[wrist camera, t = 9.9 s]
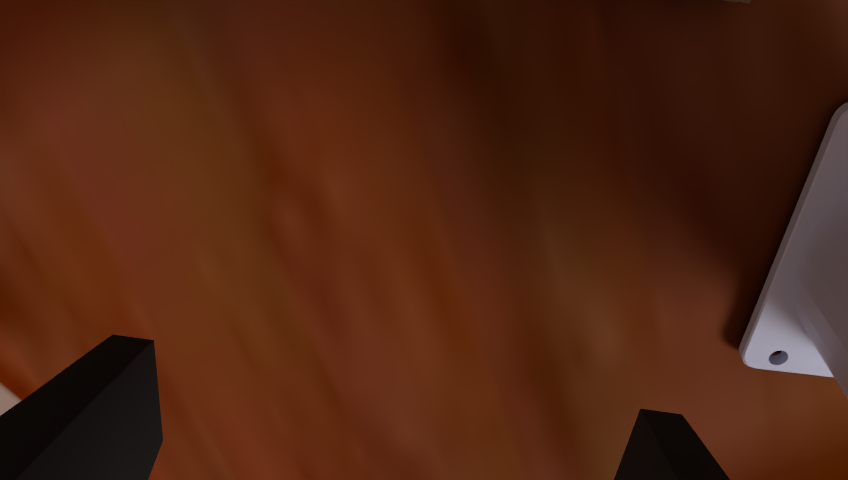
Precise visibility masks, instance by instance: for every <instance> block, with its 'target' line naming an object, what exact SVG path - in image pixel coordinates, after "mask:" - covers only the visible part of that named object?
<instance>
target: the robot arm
mask: <svg viewBox="0 0 848 480" xmlns="http://www.w3.org/2000/svg"><path fill="white" fill-rule="evenodd" d="M775 351H782V352H781V353H780V354H778V355H776V356H770V355H771V354H772V353H773V352H775ZM739 353H740V356H741V358H742V360H743V362H744V363H745V364H746V365H747V366H749V367H752V368H758V369H766V370H775V371H783V372H792V373H801V374H809V375H818V376H826V377H834V378H835V380H836V381H837V383H838V384H839V386H840V388H841V389H842V391H843V392H844V394H845V396H846V397H847V399H848V102H847V103H845V104H843V105H842V106H841V107H839V108H838V109H837V110H836V112H835V113H834V115H833V116H832V118H831V121H830V123H829V126H828V128H827V131H826V133H825V136H824V138H823V141H822V143H821V145H820V148H819V150H818V153H817V155H816V158H815V160H814V163H813V165H812V168H811V170H810V173H809V175H808V178H807V180H806V183H805V185H804V188H803V190H802V193H801V195H800V197H799V200H798V202H797V205H796V207H795V210H794V212H793V215H792V217H791V220H790V222H789V225H788V227H787V230H786V232H785V235H784V237H783V240H782V242H781V244H780V247H779V249H778V252H777V254H776V257H775V259H774V262H773V264H772V267H771V269H770V272H769V274H768V277H767V279H766V282H765V284H764V287H763V289H762V292H761V294H760V296H759V299H758V301H757V304H756V306H755V309H754V311H753V314H752V316H751V319H750V321H749V324H748V326H747V329H746V331H745V334H744V336H743V339H742V341H741V343H740V346H739ZM162 441H163V435H162V424H161V413H160V403H159V392H158V381H157V370H156V359H155V348H154V340H148V339H141V338H133V337H126V336H119V335H112V336H110V337H109V338H107V339H106V340H105V341H103V342H102V343H100V344H99V345H98V346H96V347H95V348H93V349H92V350H91V351H89V352H88V353H86V354H85V355H84V356H82V357H81V358H80V359H78V360H77V361H75V362H74V363H73V364H71V365H70V366H69V367H67V368H66V369H65V370H63V371H62V372H61V373H59V374H58V375H56V376H55V377H54V378H52V379H51V380H50V381H48V382H47V383H46V384H44V385H43V386H41V387H40V388H39V389H37V390H36V391H35V392H33V393H32V394H31V395H29V396H28V397H26V398H25V399H24V400H22V401H21V402H19V403H18V404H16V405H15V406H14V407H12V408H11V409H9V410H8V411H7V412H5V413H4V414H2V415H1V416H0V480H148V478H149V476H150V473H151V470H152V468H153V465H154V462H155V460H156V457H157V454H158V452H159V449H160V447H161V444H162ZM614 480H730V479H729V478H728V476H727V475H726V474H725V472H724V471H723V470H722V468H721V467H720V466H719V464H718V463H717V461H716V460H715V459H714V457H713V456H712V455H711V453H710V452H709V451H708V449H707V448H706V446H705V445H704V444H703V442H702V441H701V440H700V438H699V437H698V436H697V434H696V433H695V431H694V430H693V429H692V427H691V426H690V425H689V423H688V422H687V421H686V419H685V418H684V417H683V415H681V414H674V413H667V412H660V411H653V410H646V409H640V411H639V414H638V417H637V419H636V422H635V425H634V428H633V430H632V433H631V436H630V438H629V441H628V444H627V446H626V449H625V452H624V454H623V457H622V460H621V463H620V465H619V468H618V471H617V473H616V476H615V479H614Z"/></svg>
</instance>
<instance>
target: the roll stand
mask: <svg viewBox="0 0 848 480" xmlns="http://www.w3.org/2000/svg"><path fill="white" fill-rule="evenodd" d="M723 1H732V2H741V3H750V2H751V0H723Z"/></svg>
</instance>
